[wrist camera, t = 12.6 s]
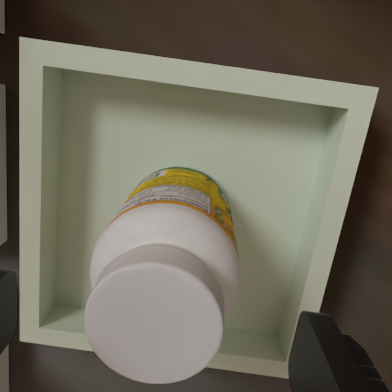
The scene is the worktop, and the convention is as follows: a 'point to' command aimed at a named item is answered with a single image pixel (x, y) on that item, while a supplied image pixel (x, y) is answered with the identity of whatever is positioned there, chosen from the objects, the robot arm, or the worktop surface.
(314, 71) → the worktop surface
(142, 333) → the supplement bottle
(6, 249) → the worktop surface
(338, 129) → the sage tray
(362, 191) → the worktop surface
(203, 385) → the worktop surface
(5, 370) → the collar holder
